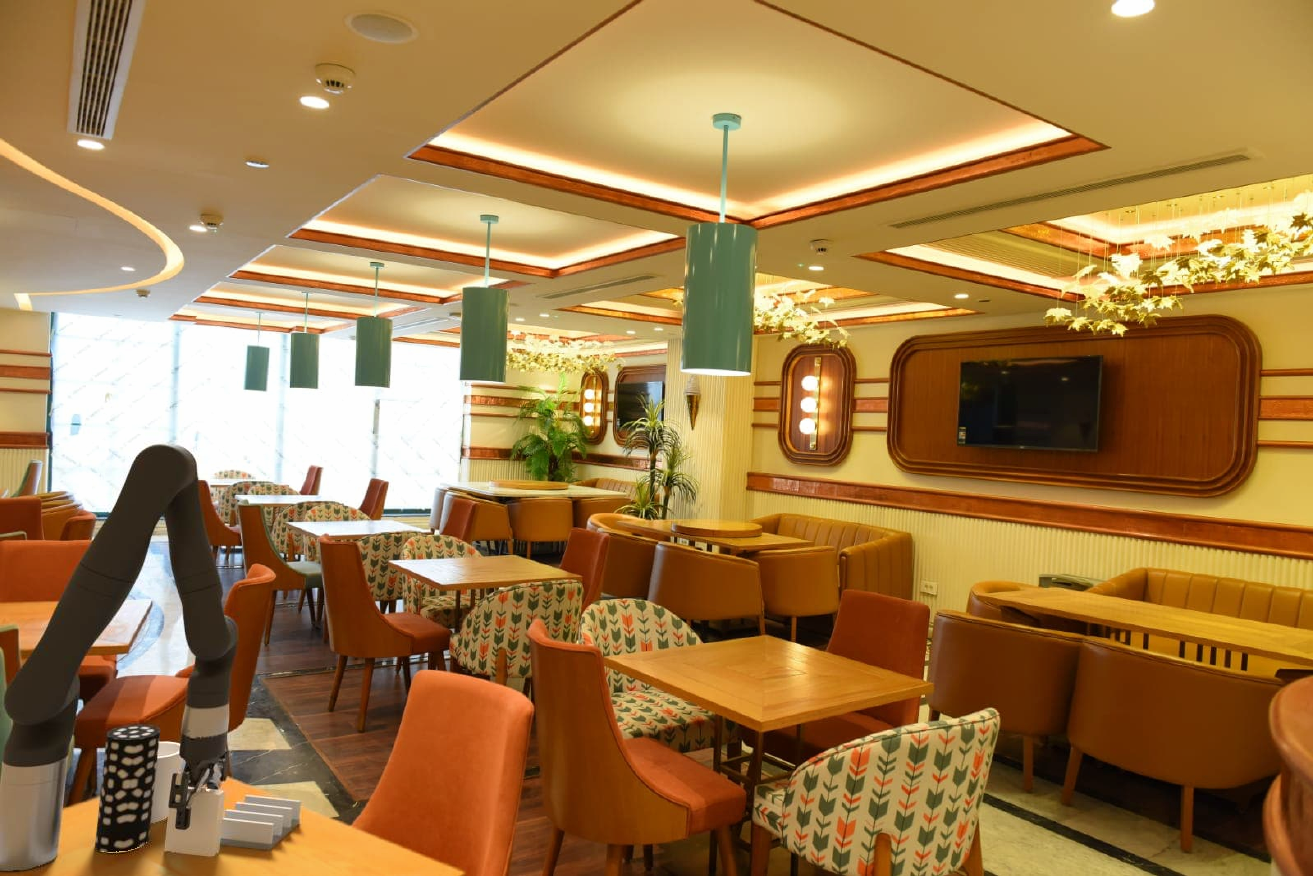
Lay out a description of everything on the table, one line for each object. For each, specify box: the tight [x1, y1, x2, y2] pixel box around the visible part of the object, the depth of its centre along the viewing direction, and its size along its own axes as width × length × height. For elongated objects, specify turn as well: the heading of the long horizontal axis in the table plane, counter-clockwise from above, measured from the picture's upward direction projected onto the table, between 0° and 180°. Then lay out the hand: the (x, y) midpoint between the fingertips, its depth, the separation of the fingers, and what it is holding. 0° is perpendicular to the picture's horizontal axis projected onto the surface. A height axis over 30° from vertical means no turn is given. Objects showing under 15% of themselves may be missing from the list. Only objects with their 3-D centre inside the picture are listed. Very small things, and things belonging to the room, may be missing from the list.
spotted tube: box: [94, 724, 161, 852], centre depth 155 cm, size 8×8×20 cm
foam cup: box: [150, 741, 185, 825], centre depth 166 cm, size 10×9×13 cm
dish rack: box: [220, 794, 302, 851], centre depth 163 cm, size 11×12×4 cm
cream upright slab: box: [163, 786, 227, 857], centre depth 154 cm, size 9×2×11 cm, turn 87°
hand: (196, 818), depth 155 cm, fingers open, 8 cm apart
